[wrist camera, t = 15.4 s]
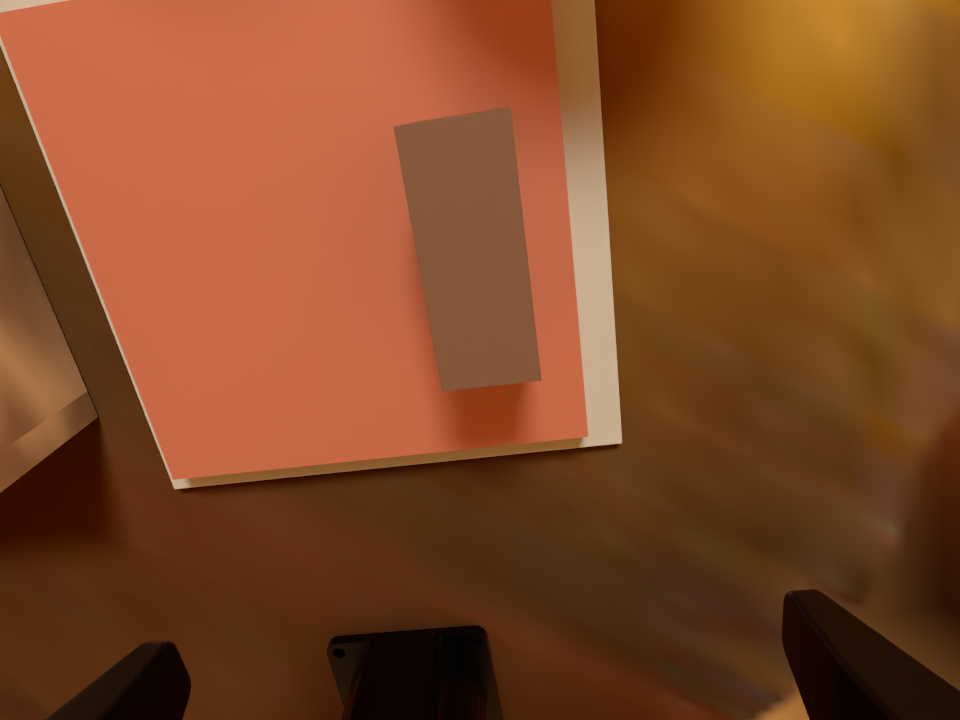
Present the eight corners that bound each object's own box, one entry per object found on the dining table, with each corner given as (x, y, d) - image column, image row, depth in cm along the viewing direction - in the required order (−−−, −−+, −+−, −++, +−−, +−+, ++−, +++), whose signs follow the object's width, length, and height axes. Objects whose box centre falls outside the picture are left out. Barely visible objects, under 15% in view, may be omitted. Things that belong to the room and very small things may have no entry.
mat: (620, 437, 21) (622, 443, 21) (179, 482, 23) (174, 489, 22) (584, -128, 15) (585, -134, 15) (-14, -17, 17) (-26, -20, 16)
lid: (584, 421, 21) (607, 514, 16) (187, 464, 22) (101, 560, 17) (541, -74, 15) (557, -150, 11) (20, 19, 17) (-168, -14, 12)
